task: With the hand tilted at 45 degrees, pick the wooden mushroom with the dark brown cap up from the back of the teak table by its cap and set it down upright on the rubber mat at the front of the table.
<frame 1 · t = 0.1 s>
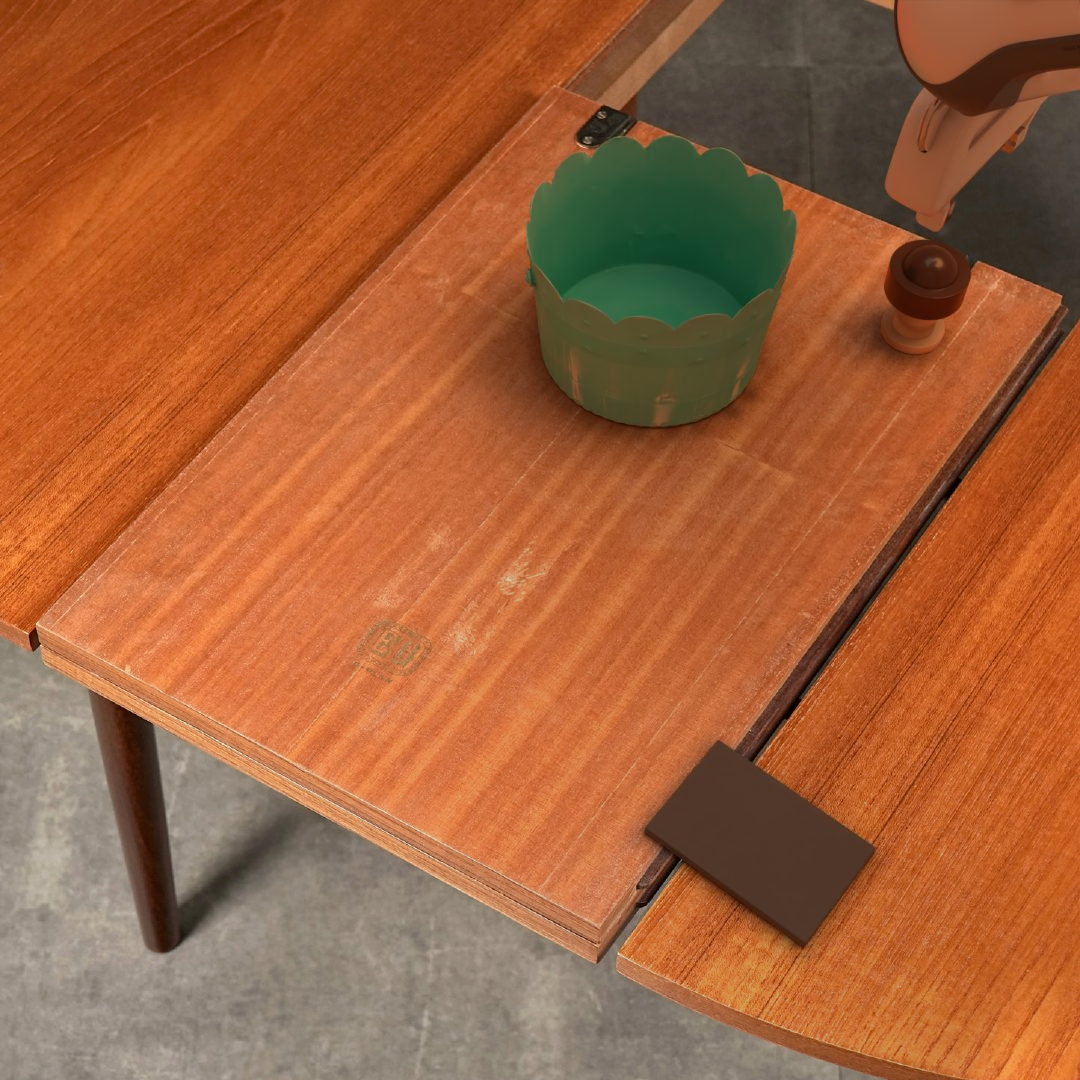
hand: (969, 182, 110), 21 cm above the table, tool pointing down, fingers open, 8 cm apart
front mat: (758, 842, 106), on the table
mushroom: (911, 331, 131), on the table
basket: (647, 344, 130), on the table
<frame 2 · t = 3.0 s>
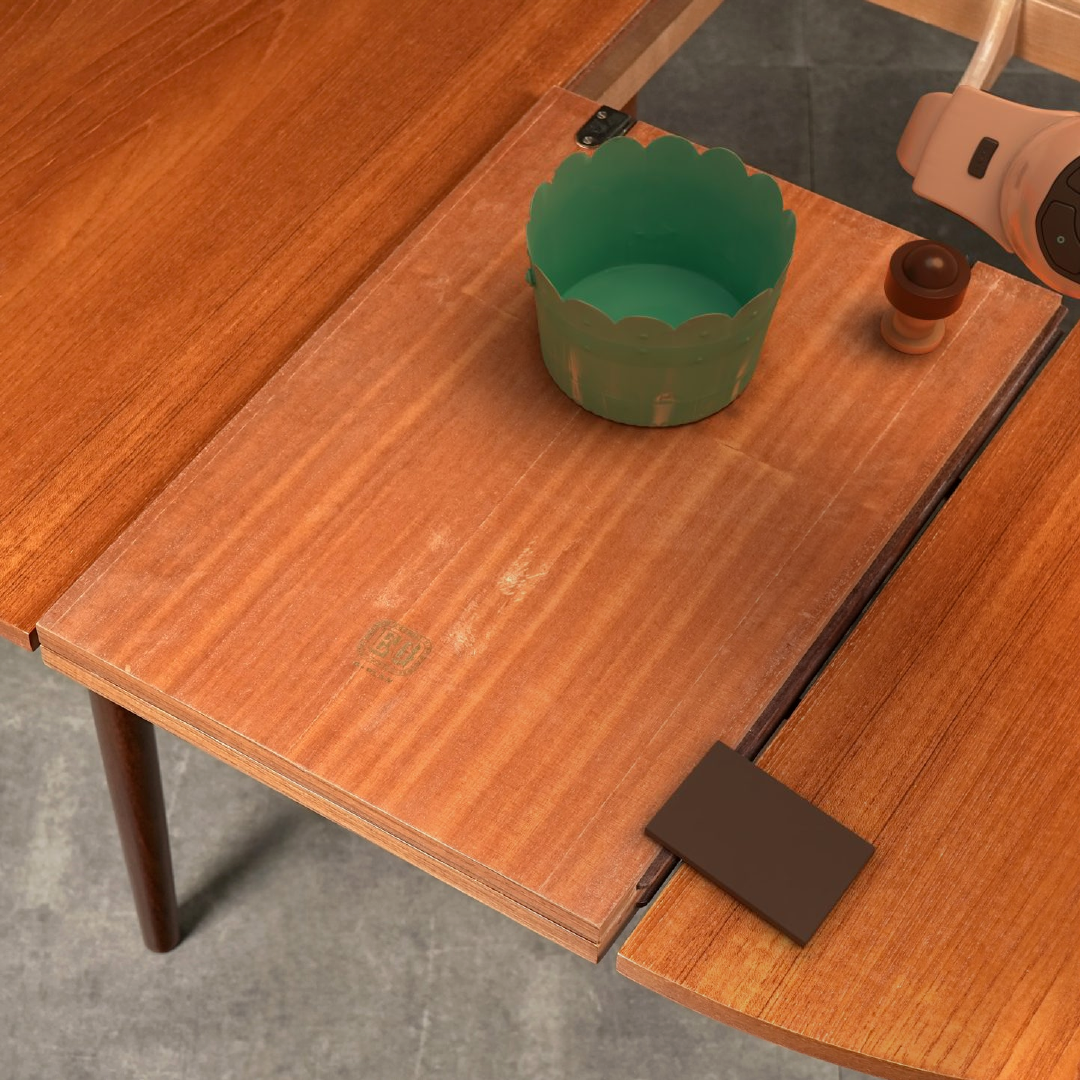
hand: (1054, 184, 106), 24 cm above the table, tool tilted 50°, fingers open, 8 cm apart
nothing on the table moved.
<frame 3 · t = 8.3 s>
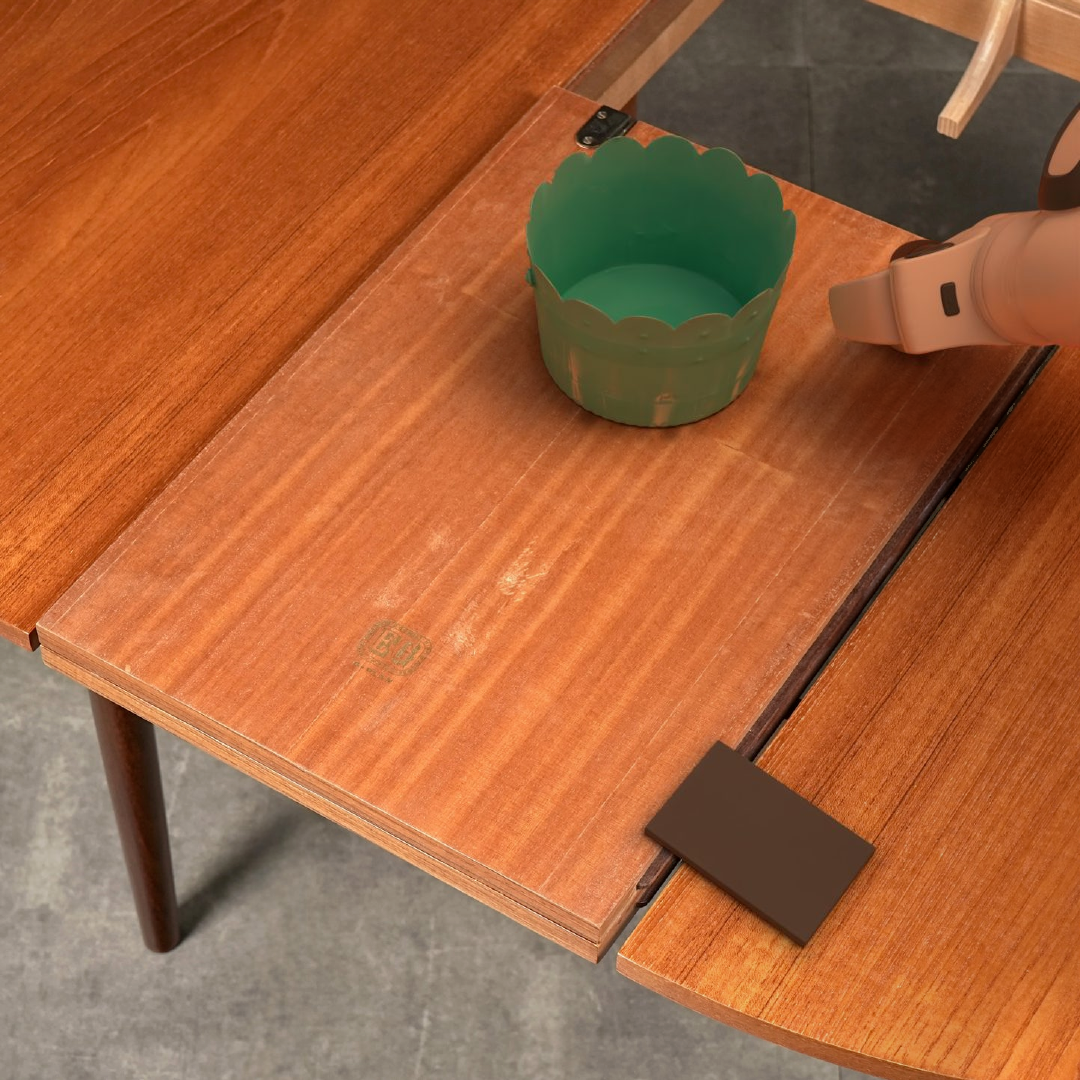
hand: (920, 278, 127), 5 cm above the table, tool tilted 45°, fingers closed on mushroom, 6 cm apart
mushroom: (911, 331, 131), on the table, touching gripper
everything else where it was.
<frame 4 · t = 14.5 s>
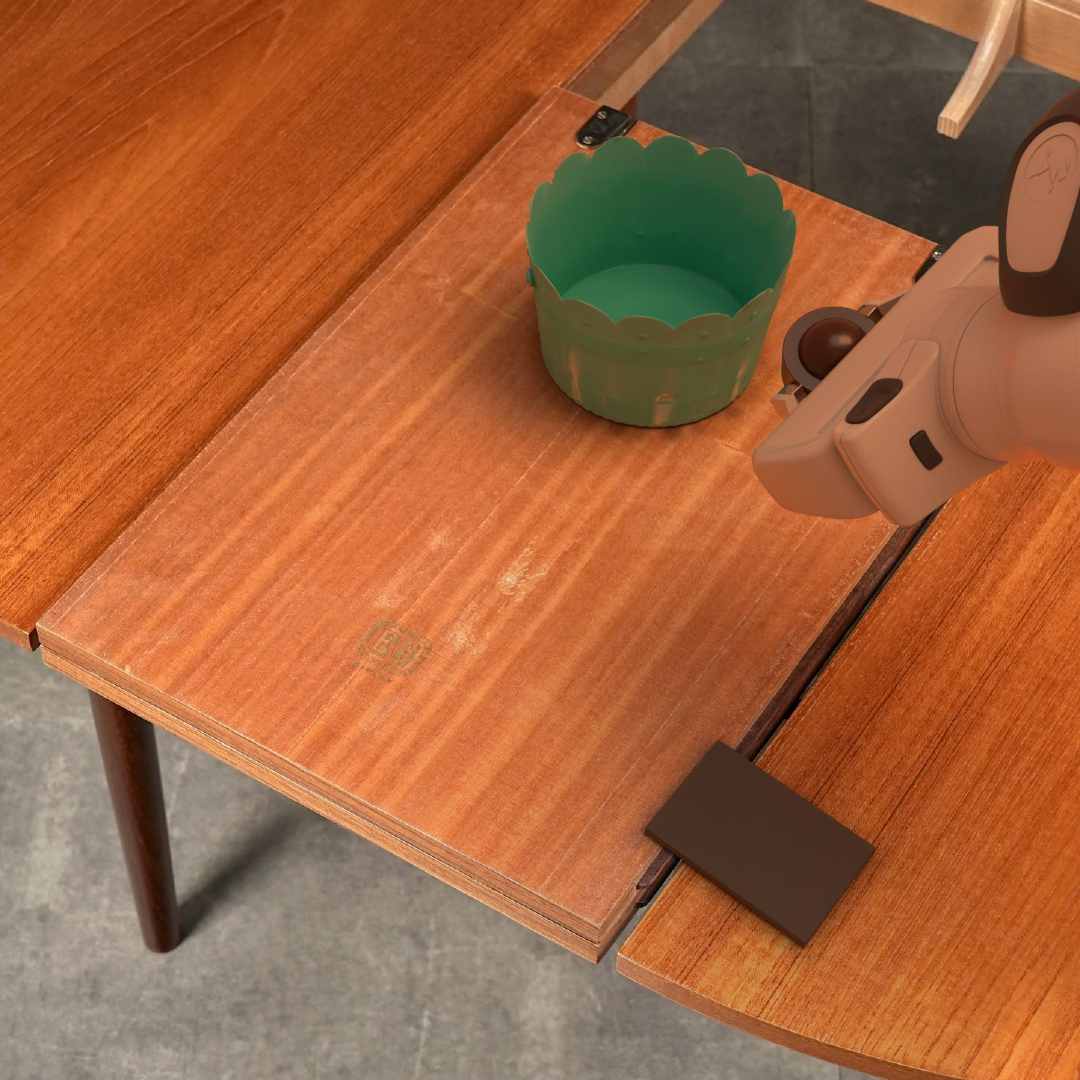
hand: (823, 360, 100), 22 cm above the table, tool tilted 50°, fingers closed on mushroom, 6 cm apart
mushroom: (828, 407, 104), point 17 cm above the table, tilted 13°, touching gripper
everything else where it was.
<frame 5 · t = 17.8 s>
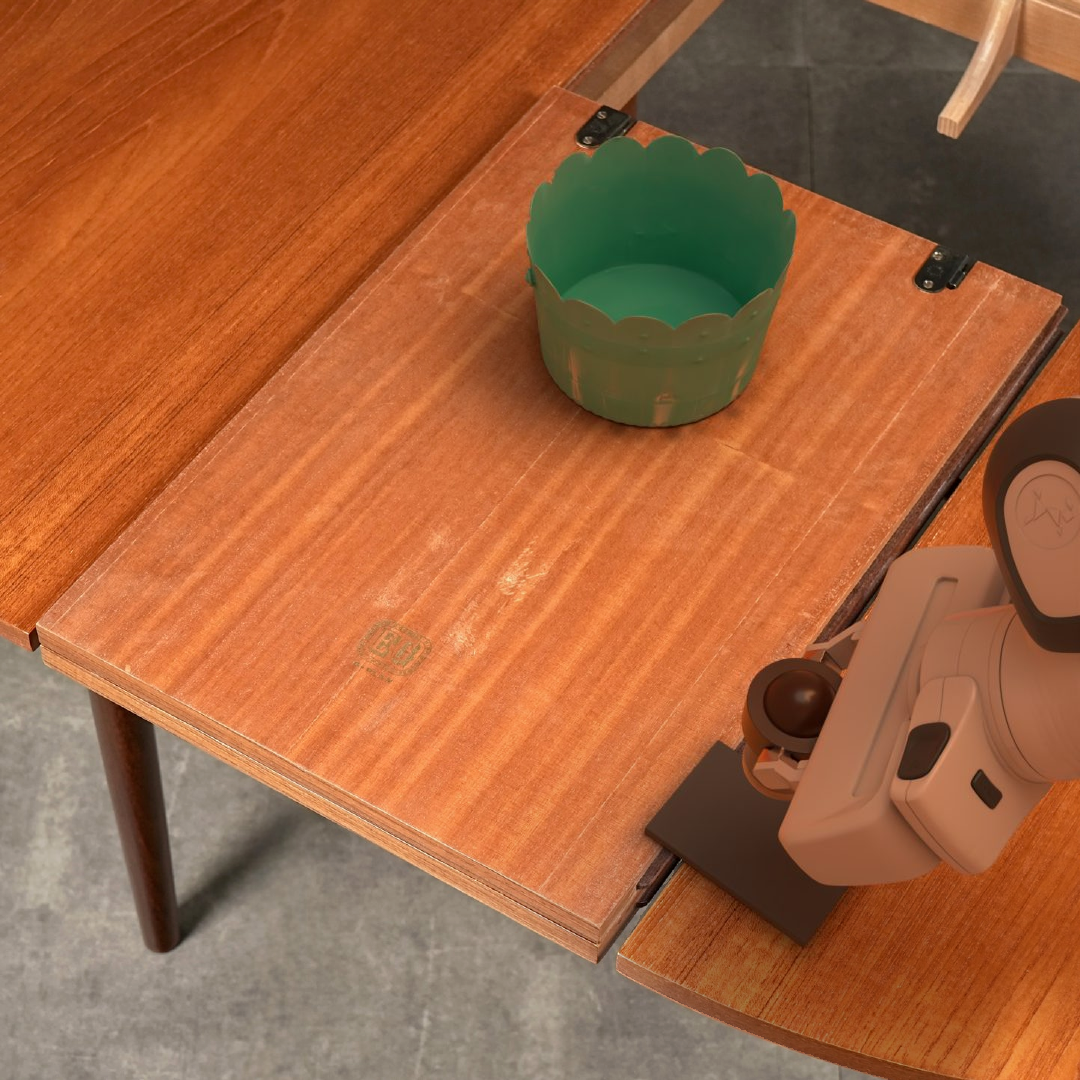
hand: (785, 716, 94), 15 cm above the table, tool tilted 45°, fingers closed on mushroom, 6 cm apart
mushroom: (783, 763, 98), point 10 cm above the table, touching gripper
everything else where it was.
when the fingers open (6 cm above the table, at t = 20.8 s): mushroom stays where it is, resting on front mat.
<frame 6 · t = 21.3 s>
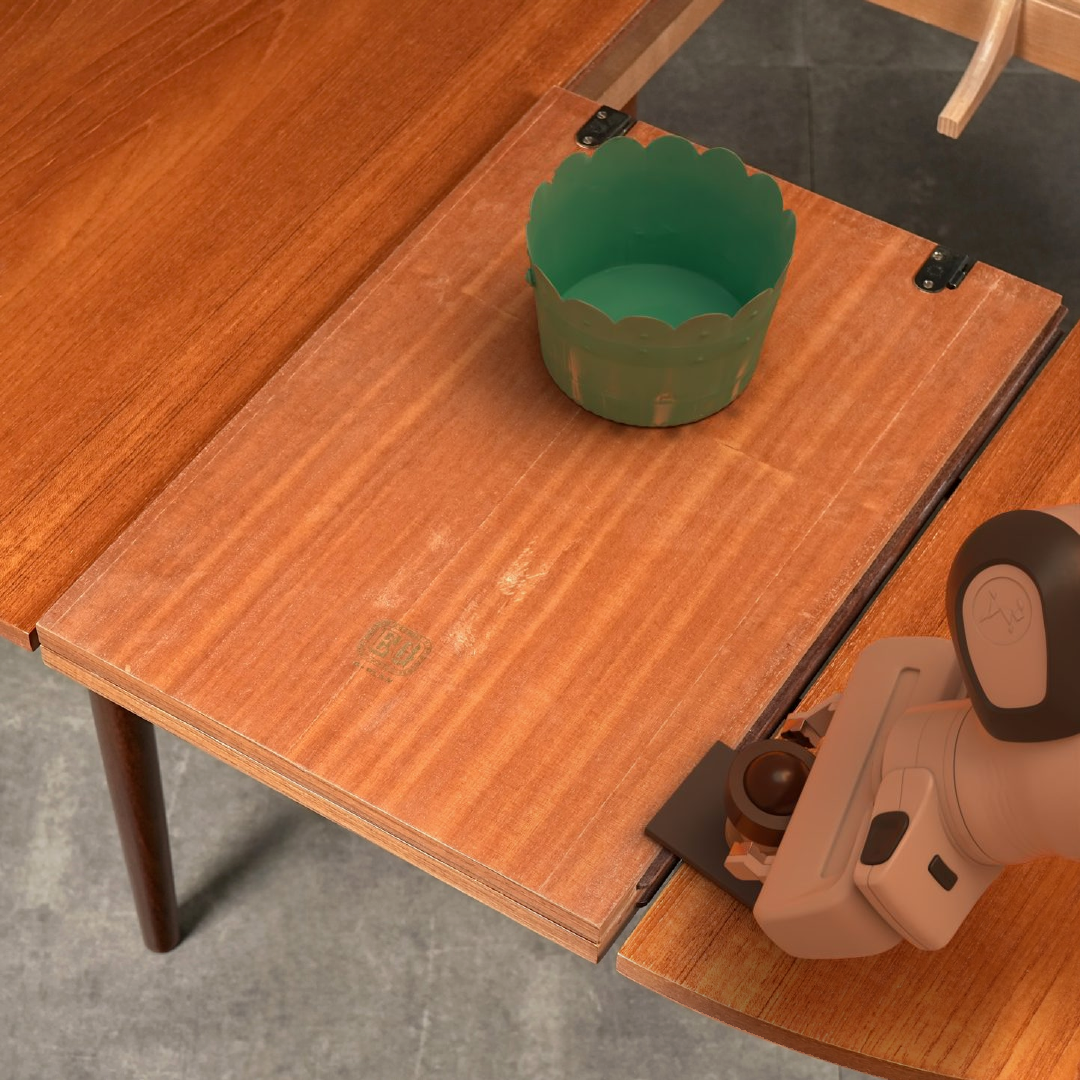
hand: (762, 795, 101), 6 cm above the table, tool tilted 45°, fingers open, 8 cm apart
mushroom: (763, 833, 106), point 1 cm above the table, touching front mat
everything else where it was.
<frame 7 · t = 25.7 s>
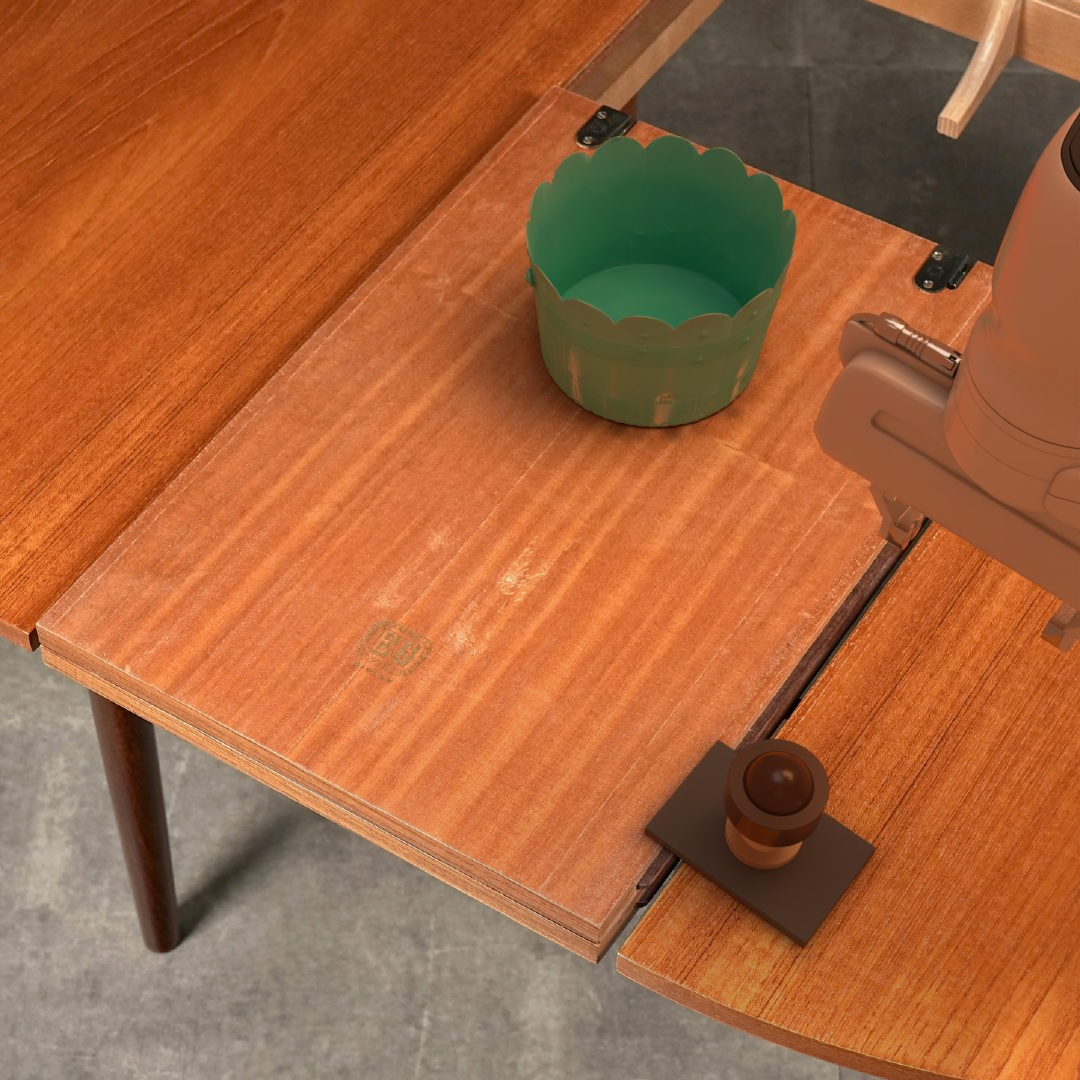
hand: (977, 585, 85), 27 cm above the table, tool pointing down, fingers open, 8 cm apart
nothing on the table moved.
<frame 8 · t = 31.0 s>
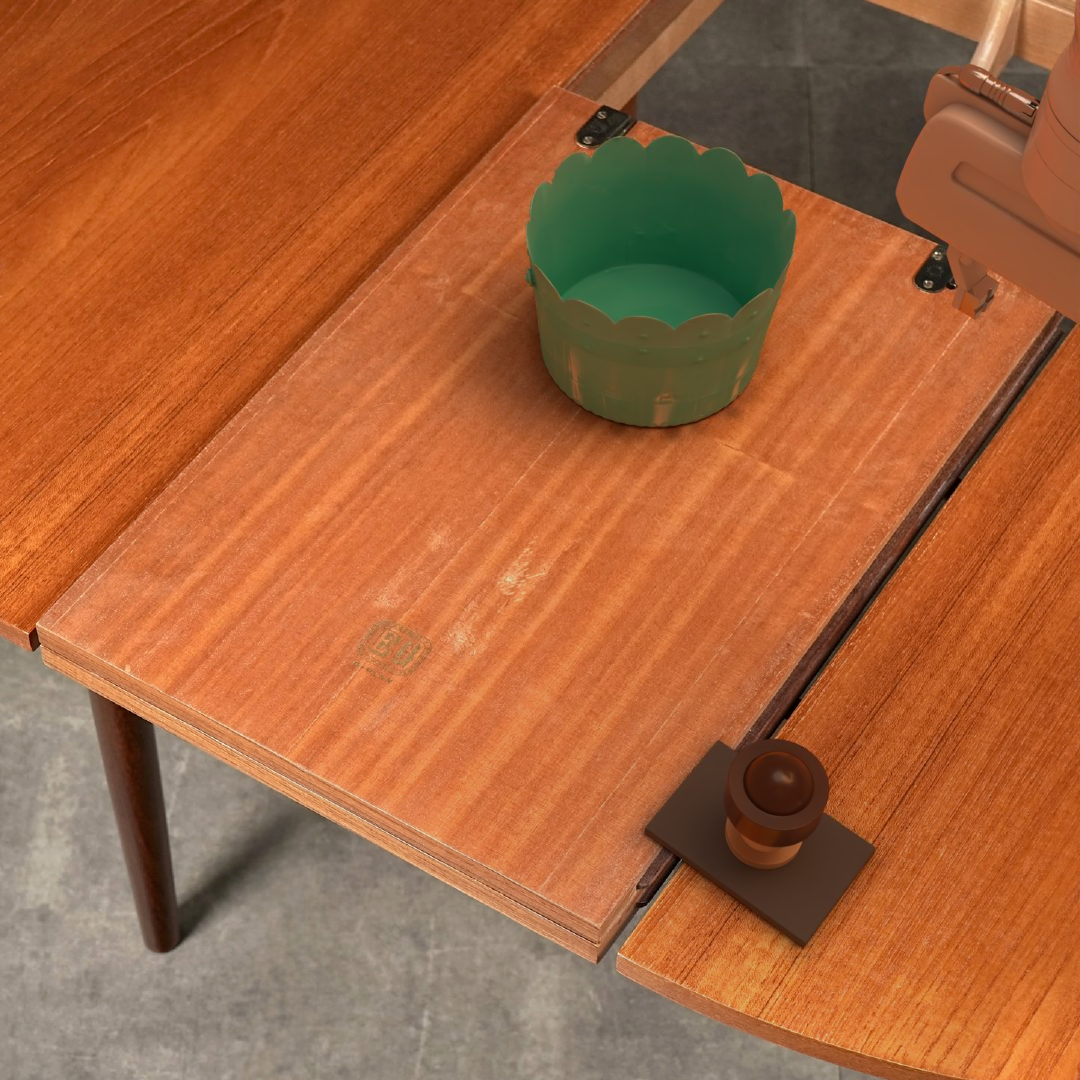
hand: (1045, 354, 89), 31 cm above the table, tool pointing down, fingers open, 8 cm apart
nothing on the table moved.
at the end: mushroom inside the target area on the front mat (0.3 cm from its centre), point 0.8 cm above the front mat's base; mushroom tilted 0°; the gripper is holding nothing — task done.
